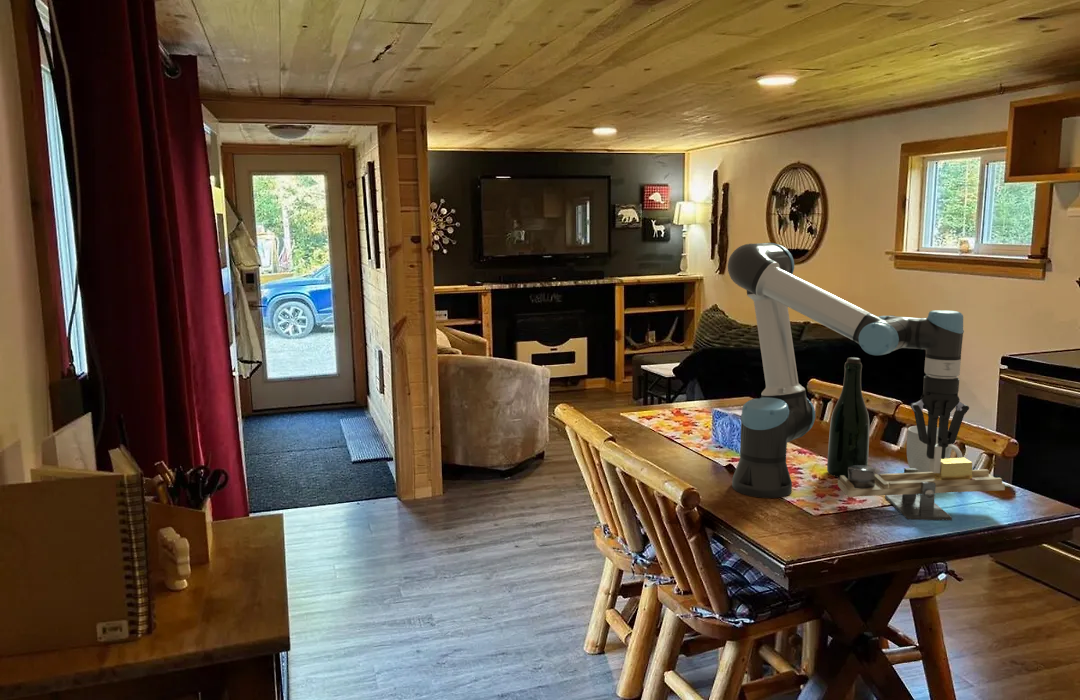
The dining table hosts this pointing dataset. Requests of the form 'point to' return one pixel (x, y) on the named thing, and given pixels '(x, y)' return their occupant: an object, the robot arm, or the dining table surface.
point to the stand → (919, 503)
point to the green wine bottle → (849, 424)
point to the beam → (912, 484)
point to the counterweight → (861, 476)
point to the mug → (923, 451)
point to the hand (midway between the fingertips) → (934, 471)
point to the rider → (954, 469)
